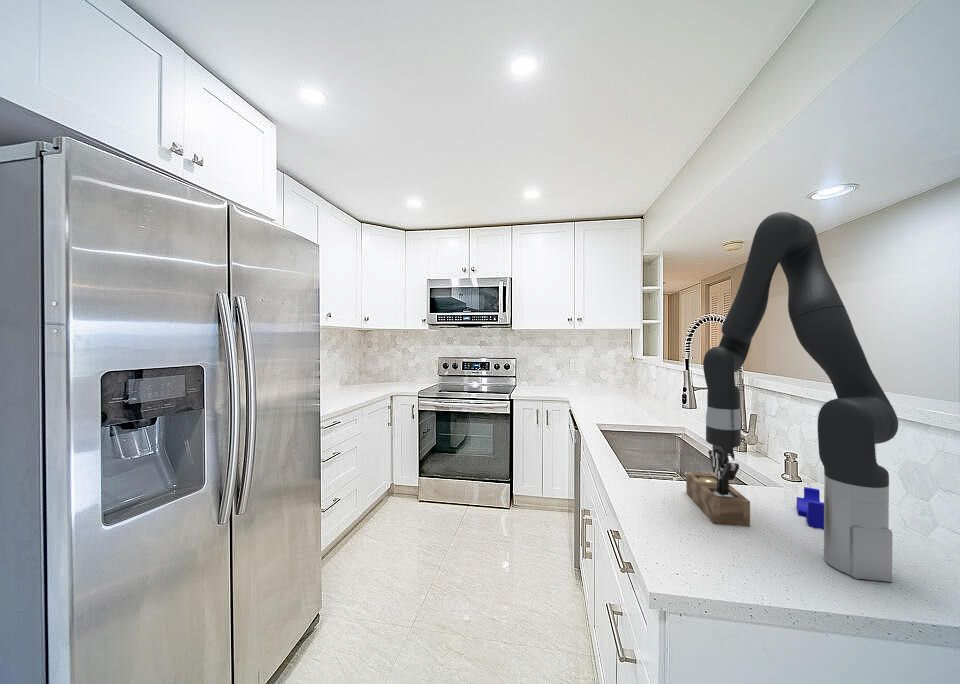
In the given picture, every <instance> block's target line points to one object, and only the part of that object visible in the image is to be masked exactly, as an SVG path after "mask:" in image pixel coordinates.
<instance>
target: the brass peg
mask: <svg viewBox="0 0 960 684" xmlns="http://www.w3.org/2000/svg"><path fill="white" fill-rule="evenodd" d="M699 480H700V481H701V482H717V480H716V479H714V478H710V477H699Z"/></svg>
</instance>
